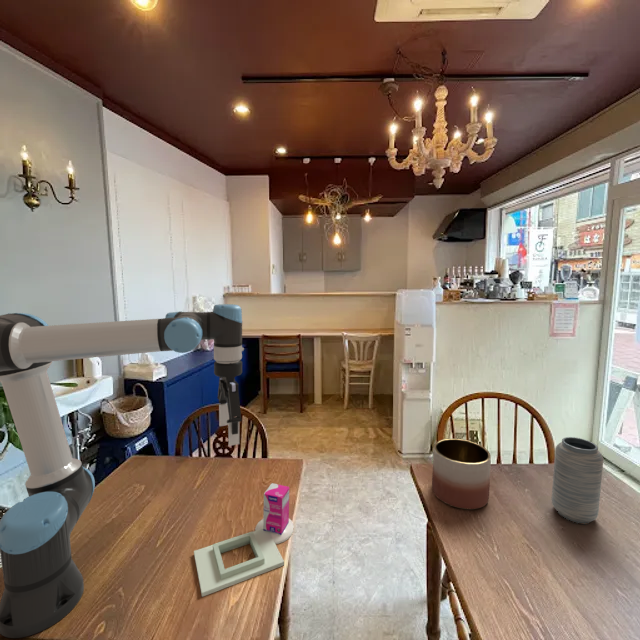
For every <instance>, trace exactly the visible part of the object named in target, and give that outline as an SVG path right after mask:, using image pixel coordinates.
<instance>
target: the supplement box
mask: <svg viewBox="0 0 640 640" xmlns="http://www.w3.org/2000/svg"><path fill="white" fill-rule="evenodd" d="M289 513H290V486H288V485H287V486H286V485H283V484H277V483H273V482H272V483H271V484H270V485H269V486H268V487H267V488H266V490H265V491H264V493H263V517H262V519H263V530H264V531H269V532H273V533H276V534H280V535H282V533H283V531H284V530H285V528H286V526H287V524H288V523H289V519H290V514H289Z"/></svg>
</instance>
